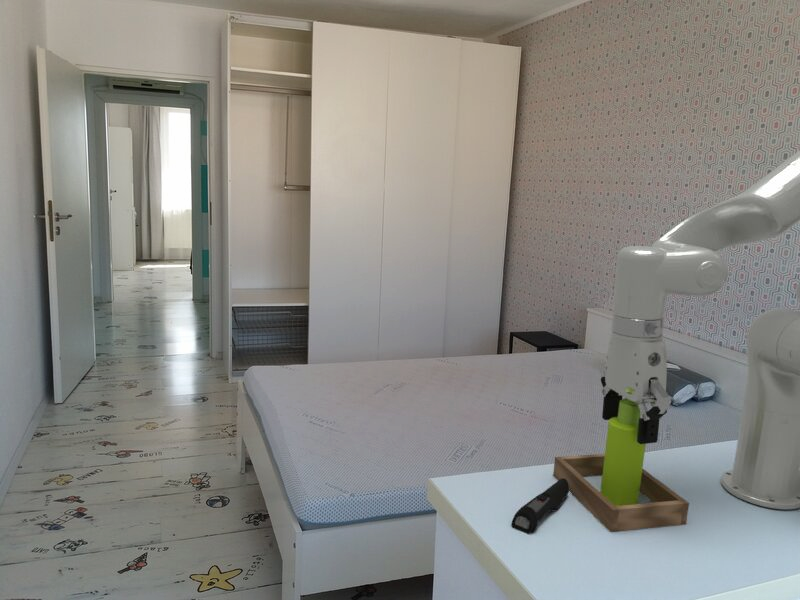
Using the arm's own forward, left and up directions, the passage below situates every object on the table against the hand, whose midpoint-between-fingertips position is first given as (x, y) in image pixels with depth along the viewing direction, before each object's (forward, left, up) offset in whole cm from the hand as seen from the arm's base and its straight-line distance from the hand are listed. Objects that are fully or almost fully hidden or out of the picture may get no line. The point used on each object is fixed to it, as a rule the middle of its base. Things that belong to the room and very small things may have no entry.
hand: (628, 430), depth 102 cm
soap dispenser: (+1, +1, -12) cm, 12 cm away
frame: (+1, 0, -12) cm, 12 cm away
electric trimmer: (+15, +2, -12) cm, 19 cm away
